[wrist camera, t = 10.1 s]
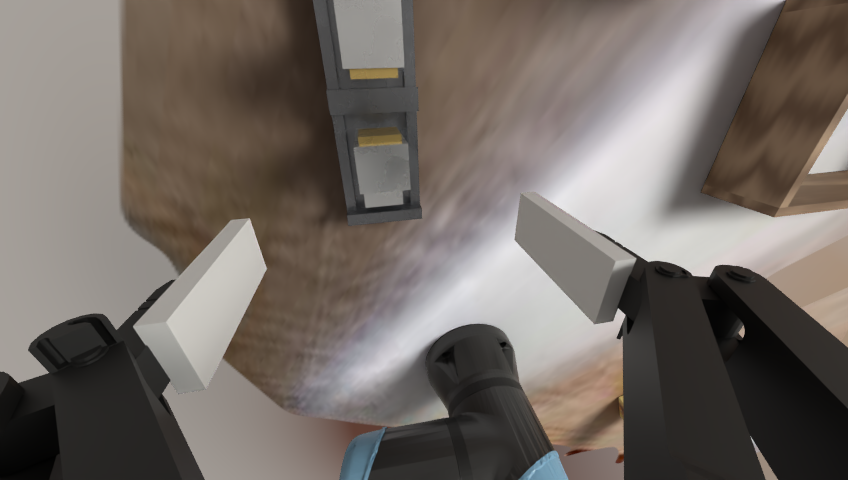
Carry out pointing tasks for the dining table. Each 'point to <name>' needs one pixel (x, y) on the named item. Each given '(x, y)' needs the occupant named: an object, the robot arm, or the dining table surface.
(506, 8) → the dining table surface
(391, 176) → the gold-topped white block
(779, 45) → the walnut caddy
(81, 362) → the robot arm
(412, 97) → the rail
